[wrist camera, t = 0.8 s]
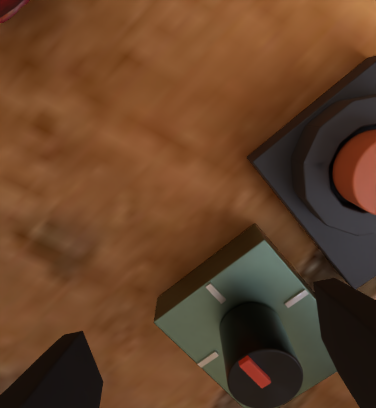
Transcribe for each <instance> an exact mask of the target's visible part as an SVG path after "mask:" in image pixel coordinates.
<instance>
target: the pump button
mask: <svg viewBox="0 0 376 408" xmlns="http://www.w3.org/2000/svg"><path fill="white" fill-rule="evenodd" d="M332 175H333V182H334V185H335V187H336V189H337V191H338V192H339V194H340V195H341V196H342V197H343V198H345V199H346V200H348V201H349V202H351V203H353V204H355V205H356V206H358V207H360V208H362V209H363V210H365V211H367V212H369V213H371V214H373V215H376V129H374V130H368V131H364V132H362V133H359V134H357V135H356V136H354V137H353V138H351V139H350V140H349V141H347V142H346V143H345V144H344V146H343V147H342V148H341V149H340V151H339V152H338V154H337V156H336V158H335V161H334V164H333V171H332Z"/></svg>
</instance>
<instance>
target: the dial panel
mask: <svg viewBox="0 0 376 408" xmlns="http://www.w3.org/2000/svg"><path fill="white" fill-rule="evenodd" d="M249 303H257V304H262V305H265V306H267V307H269V308H271V309H272V310H274V311H275V312H276V313H277V315H278V316H279V318H280V320H281V322H282V324H283V326H284V329H285V331H286V333H287V335H288V338H289V340H290V342H291V344H292V346H293V349H294V351H295V353H296V355H297V358H298V360H299V362H300V364H301V367H302V369H303V383H302V386H301V388H300V390H299V392H298V393H297V395H296V396H295V397H297V396H298V395H300V394H301V393H303V392H305V391H306V390H308V389H310V388H311V387H313V386H314V385H316V384H318V383H319V382H321V381H322V380H324V379H326V378H327V377H329V376H331V375H332V374H334V373H335V372H337V370H336V368H335V366H334V364H333V362H332V360H331V358H330V356H329V353H328V351H327V349H326V347H325V345H324V343H323V341H322V339H321V332H320V325H319V318H318V311H317V304H316V297H315V293H314V292H313V291H312V290H311V288H310V287H309V286H308V285H307V284H306V283H305V281H304V280H303V279H302V278H301V277H300V275H299V274H298V273H297V272H296V271H295V270H294V268H293V267H292V266H291V265H290V264H289V262H288V261H287V260H286V259H285V258H284V257H283V255H282V254H281V253H280V252H279V251H278V249H277V248H276V247H275V246H274V245H273V244H272V242H271V241H270V240H269V239H268V238H267V236H266V235H265V234H264V233H263V232H262V231H261V229H260V228H259V227H258V226H257V225H256V224H253V225H252V226H251V227H249V228H248V229H247V230H245V231H244V232H243V233H242V234H240V235H239V236H238V237H236V238H235V239H234V240H232V241H231V242H230V243H228V244H227V245H226V246H225V247H223V248H222V249H221V250H219V251H218V252H217V253H215V254H214V255H213V256H211V257H210V258H209V259H208V260H206V261H205V262H204V263H202V264H201V265H200V266H198V267H197V268H196V269H194V270H193V271H192V272H191V273H189V274H188V275H187V276H185V277H184V278H183V279H181V280H180V281H179V282H178V283H176V284H175V285H174V286H172V287H171V288H170V289H168V290H167V291H166V292H164V293H163V294H162V295H161V296H159V297H158V298H157V304H156V310H155V317H154V323H155V324H156V325H157V326H158V327H159V328H160V329H161V330H162V331H163V332H164V333H165V334H166V335H167V336H168V337H169V338H170V339H172V340H173V341H174V342H175V343H176V344H177V345H178V346H179V347H180V348H181V349H182V350H183V351H184V352H185V353H186V354H187V355H188V356H189V357H190V358H192V359H193V360H194V361H195V362H196V363H197V365H198V366H199V367H201V368H202V369H203V370H204V371H205V372H206V373H207V374H208V375H209V376H211V377H212V378H213V379H214V380H215V381H216V382H217V383H218V384H219V385H220V386H221V387H222V388H223V389H224V390H225V391H226V392H227V393H228V394H229V395H231V396H232V394H231V393H230V391H229V388H228V385H227V378H226V371H225V365H224V358H223V352H222V345H221V338H220V326H221V323H222V321H223V319H224V317H225V316H226V315H227V314H228V312H230V311H231V310H232V309H234V308H235V307H238V306H240V305H243V304H249ZM232 397H233V396H232ZM295 397H294V398H295ZM233 398H234V397H233ZM234 399H235V398H234ZM235 400H236V399H235ZM291 400H292V399H291ZM236 401H237V400H236ZM237 402H238V401H237ZM238 403H239V402H238ZM239 404H240V405H241V406H242V407H243V408H250V407H247V406H245V405H243V404H241V403H239ZM281 406H282V405H281ZM279 407H280V406H279ZM279 407H276V408H279Z"/></svg>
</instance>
